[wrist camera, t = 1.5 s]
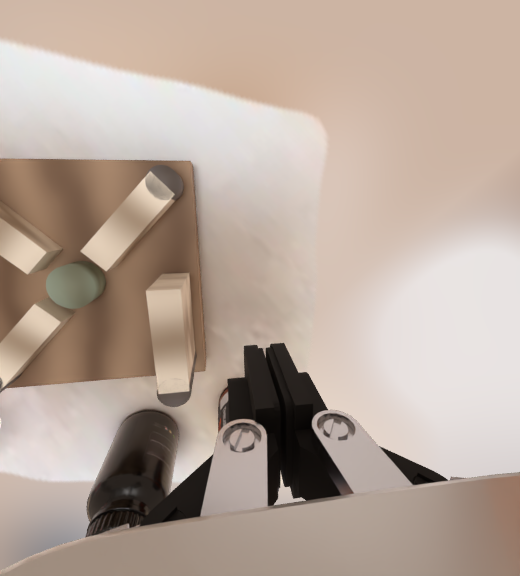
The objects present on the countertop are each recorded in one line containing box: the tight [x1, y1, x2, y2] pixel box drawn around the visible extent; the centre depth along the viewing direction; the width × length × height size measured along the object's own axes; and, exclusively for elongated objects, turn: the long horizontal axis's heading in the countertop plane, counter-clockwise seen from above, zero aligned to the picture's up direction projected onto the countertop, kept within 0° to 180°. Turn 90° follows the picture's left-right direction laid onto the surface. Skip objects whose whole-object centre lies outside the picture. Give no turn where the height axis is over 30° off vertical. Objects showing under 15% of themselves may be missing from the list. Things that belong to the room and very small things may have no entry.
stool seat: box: [0, 159, 206, 393], centre depth 25 cm, size 20×20×5 cm
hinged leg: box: [146, 273, 197, 407], centre depth 24 cm, size 10×3×6 cm, turn 1°
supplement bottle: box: [85, 411, 178, 538], centre depth 27 cm, size 7×7×12 cm
